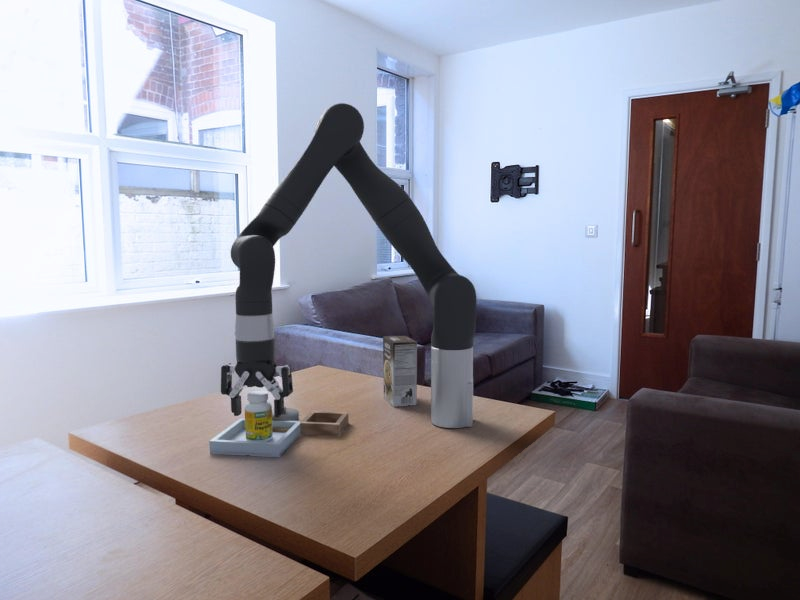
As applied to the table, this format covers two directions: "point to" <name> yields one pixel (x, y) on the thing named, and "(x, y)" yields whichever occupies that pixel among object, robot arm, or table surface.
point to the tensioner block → (315, 422)
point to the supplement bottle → (258, 417)
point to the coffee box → (400, 370)
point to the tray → (236, 443)
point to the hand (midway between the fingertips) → (257, 415)
